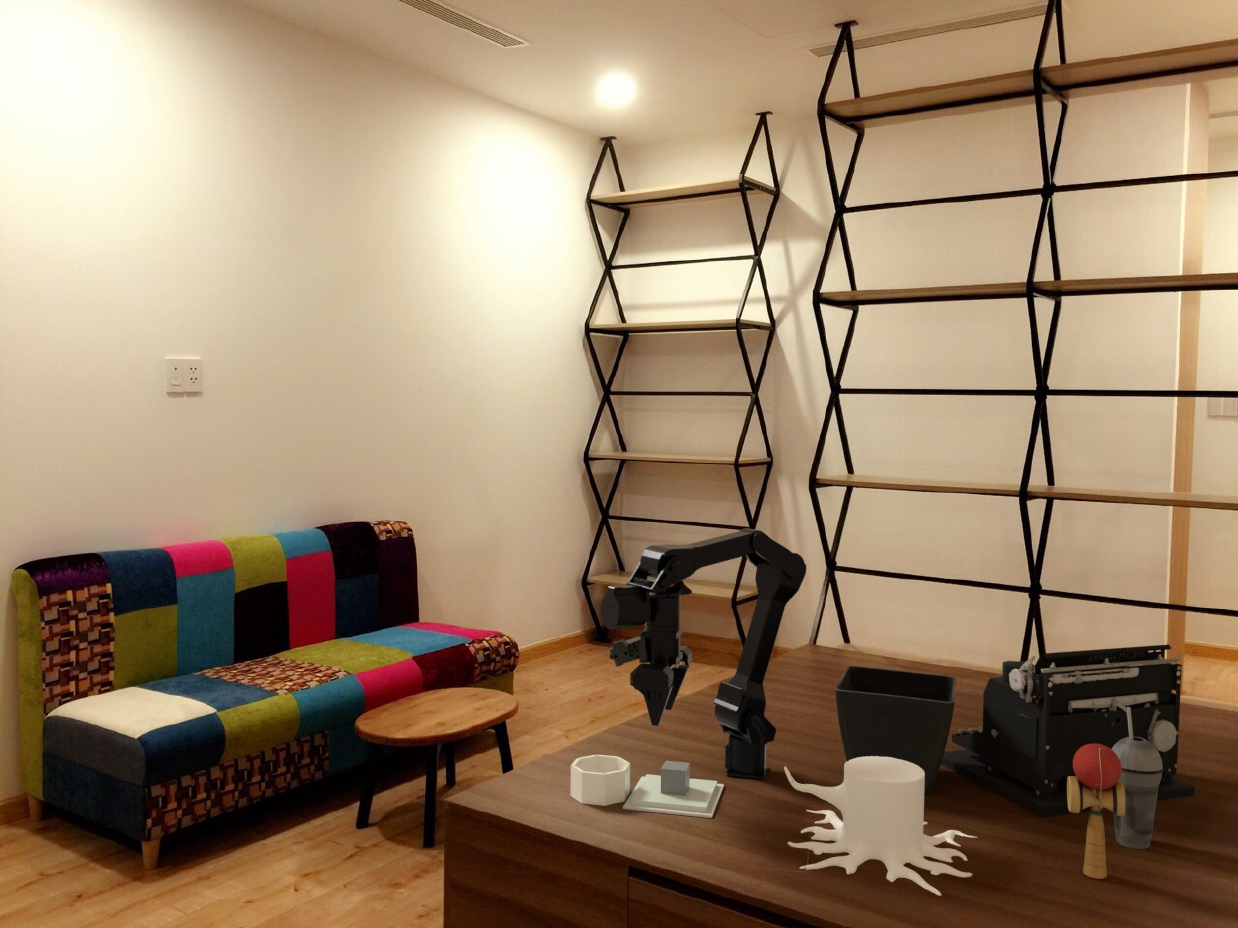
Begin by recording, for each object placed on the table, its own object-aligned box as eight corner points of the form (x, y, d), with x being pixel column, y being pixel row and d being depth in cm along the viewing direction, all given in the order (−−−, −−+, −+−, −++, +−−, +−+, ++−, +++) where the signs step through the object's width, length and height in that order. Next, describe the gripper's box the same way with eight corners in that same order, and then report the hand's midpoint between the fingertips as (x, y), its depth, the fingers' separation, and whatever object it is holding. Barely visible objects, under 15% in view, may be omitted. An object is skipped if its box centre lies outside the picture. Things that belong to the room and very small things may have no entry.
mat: (723, 786, 170) (723, 784, 170) (711, 817, 156) (711, 815, 156) (641, 778, 173) (641, 776, 173) (623, 808, 159) (623, 806, 159)
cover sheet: (717, 785, 169) (717, 757, 169) (706, 812, 157) (706, 781, 157) (646, 778, 172) (646, 750, 172) (630, 804, 160) (631, 774, 160)
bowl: (633, 787, 169) (633, 757, 168) (620, 807, 160) (621, 776, 160) (580, 782, 171) (581, 752, 171) (565, 801, 162) (565, 770, 162)
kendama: (1056, 875, 138) (1060, 743, 137) (1068, 859, 143) (1072, 733, 142) (1118, 891, 133) (1123, 756, 132) (1128, 875, 138) (1133, 744, 137)
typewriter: (1072, 747, 193) (1076, 617, 192) (1194, 798, 168) (1199, 648, 167) (934, 763, 183) (937, 625, 182) (1041, 819, 158) (1046, 660, 157)
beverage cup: (1168, 855, 144) (1172, 716, 144) (1112, 850, 146) (1117, 712, 145) (1151, 835, 152) (1156, 702, 151) (1099, 830, 153) (1103, 699, 152)
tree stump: (761, 864, 141) (763, 783, 140) (805, 797, 167) (806, 728, 166) (972, 903, 130) (975, 815, 130) (984, 824, 156) (986, 751, 156)
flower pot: (954, 767, 181) (956, 673, 180) (952, 804, 163) (955, 701, 162) (845, 754, 187) (847, 664, 186) (832, 789, 169) (834, 689, 168)
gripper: (630, 609, 177) (629, 698, 178) (598, 631, 159) (598, 729, 160) (692, 613, 174) (692, 703, 175) (668, 635, 156) (667, 735, 157)
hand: (661, 717), depth 167 cm, fingers open, 9 cm apart
